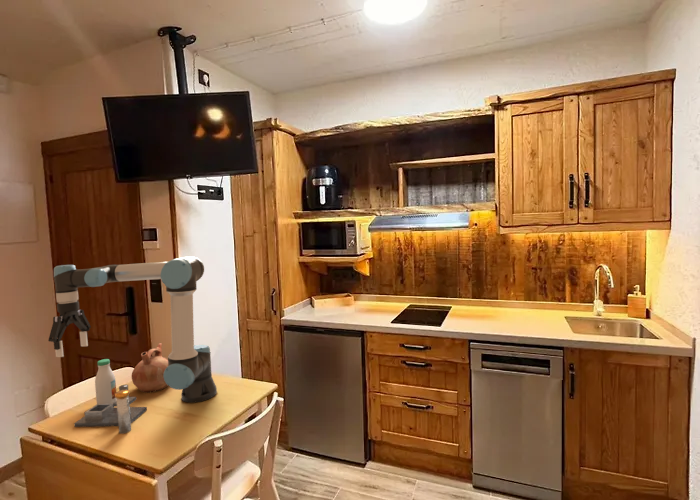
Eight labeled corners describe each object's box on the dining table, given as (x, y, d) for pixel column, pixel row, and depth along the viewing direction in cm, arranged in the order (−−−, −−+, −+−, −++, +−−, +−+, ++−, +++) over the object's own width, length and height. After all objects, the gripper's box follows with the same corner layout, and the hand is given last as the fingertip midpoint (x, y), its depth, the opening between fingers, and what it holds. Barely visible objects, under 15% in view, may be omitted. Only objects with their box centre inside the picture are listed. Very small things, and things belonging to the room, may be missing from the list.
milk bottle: (107, 408, 169) (103, 363, 167) (92, 407, 170) (88, 363, 169) (121, 400, 176) (117, 357, 175) (106, 399, 178) (103, 357, 176)
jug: (149, 379, 200) (146, 341, 199) (182, 380, 197) (179, 341, 196) (124, 395, 182) (120, 353, 180) (159, 396, 179) (156, 354, 178)
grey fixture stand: (146, 410, 166) (144, 379, 165) (128, 426, 153) (125, 392, 152) (97, 411, 167) (94, 380, 166) (74, 427, 154) (71, 393, 153)
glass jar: (135, 427, 152) (131, 389, 151) (127, 434, 147) (124, 395, 146) (123, 427, 152) (119, 389, 151) (115, 434, 147) (111, 395, 146)
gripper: (81, 296, 176) (85, 342, 177) (33, 308, 151) (39, 361, 152) (97, 295, 175) (101, 341, 177) (52, 307, 150) (57, 361, 152)
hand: (72, 351), depth 164 cm, fingers open, 13 cm apart
